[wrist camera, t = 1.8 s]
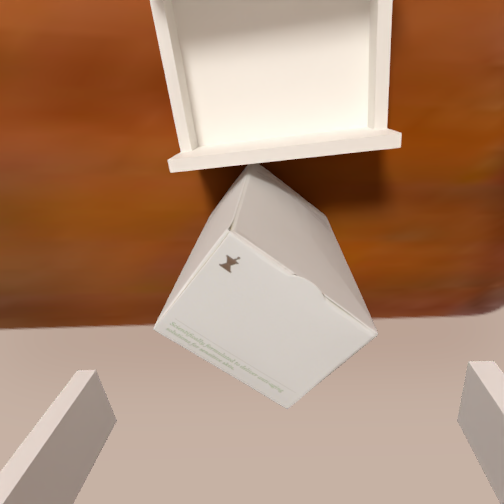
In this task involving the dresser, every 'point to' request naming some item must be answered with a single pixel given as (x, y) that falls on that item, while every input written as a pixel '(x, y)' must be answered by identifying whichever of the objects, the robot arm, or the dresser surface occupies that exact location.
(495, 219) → the dresser surface
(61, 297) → the dresser surface
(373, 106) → the caddy rack
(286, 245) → the skincare box
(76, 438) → the robot arm
